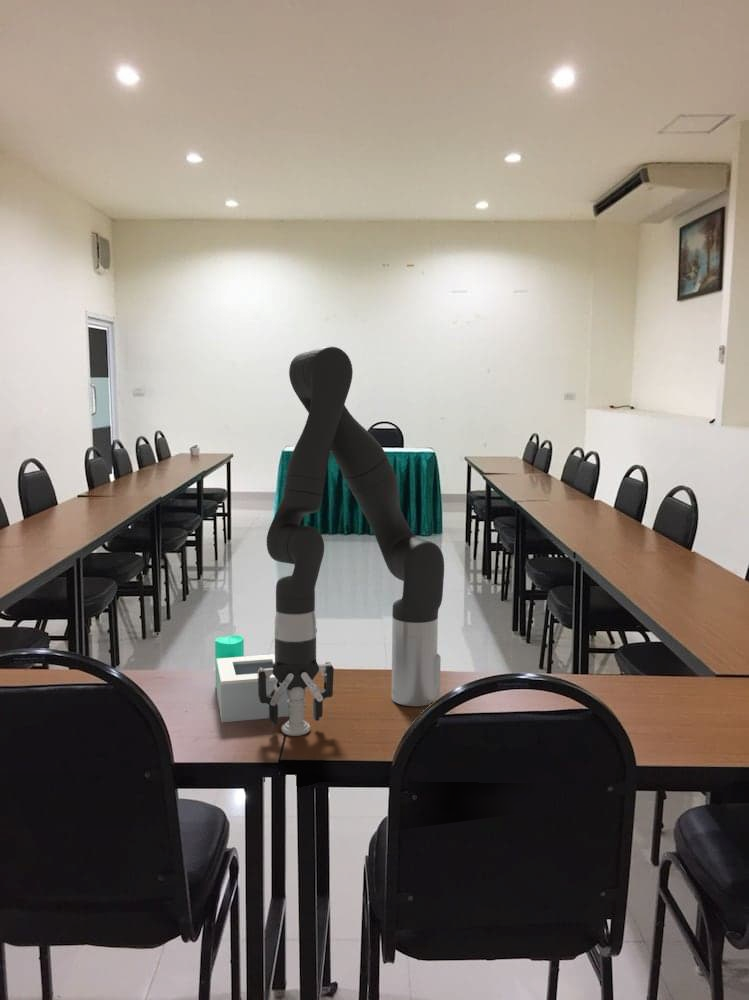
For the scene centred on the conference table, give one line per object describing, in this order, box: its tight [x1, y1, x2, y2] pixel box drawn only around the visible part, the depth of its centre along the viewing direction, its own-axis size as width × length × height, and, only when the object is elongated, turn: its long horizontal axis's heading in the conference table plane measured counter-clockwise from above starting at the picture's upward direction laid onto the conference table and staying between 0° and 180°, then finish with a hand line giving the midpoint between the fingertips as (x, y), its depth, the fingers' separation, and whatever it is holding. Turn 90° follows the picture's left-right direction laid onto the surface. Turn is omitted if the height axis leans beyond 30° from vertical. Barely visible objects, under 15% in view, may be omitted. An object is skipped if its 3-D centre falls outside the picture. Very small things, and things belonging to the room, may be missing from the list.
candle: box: [214, 631, 245, 689], centre depth 164 cm, size 6×6×12 cm
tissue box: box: [216, 653, 289, 723], centre depth 154 cm, size 14×14×8 cm
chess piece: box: [280, 687, 311, 737], centre depth 142 cm, size 5×5×9 cm
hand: (295, 721), depth 142 cm, fingers open, 7 cm apart
